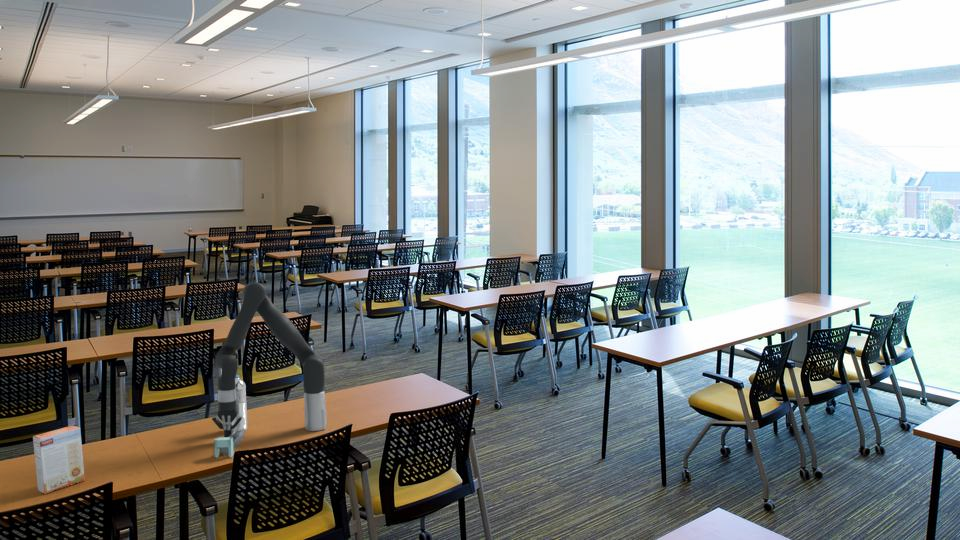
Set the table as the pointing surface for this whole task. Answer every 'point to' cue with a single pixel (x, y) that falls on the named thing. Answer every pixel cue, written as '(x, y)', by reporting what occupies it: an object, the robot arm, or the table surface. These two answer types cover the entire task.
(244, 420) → the water bottle
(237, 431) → the tong arm
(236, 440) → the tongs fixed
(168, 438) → the table surface
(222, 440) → the lock collar
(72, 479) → the cracker box
